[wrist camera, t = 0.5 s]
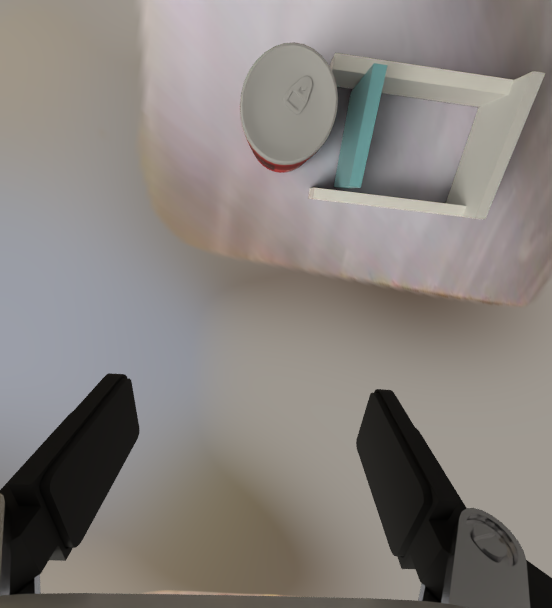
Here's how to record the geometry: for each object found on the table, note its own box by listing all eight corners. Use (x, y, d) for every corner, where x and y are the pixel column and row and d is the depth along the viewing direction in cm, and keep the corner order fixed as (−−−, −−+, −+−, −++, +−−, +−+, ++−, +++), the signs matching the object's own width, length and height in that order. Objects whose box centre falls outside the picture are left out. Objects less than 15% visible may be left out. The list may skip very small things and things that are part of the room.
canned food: (327, 112, 29) (357, 70, 19) (299, 184, 32) (311, 180, 22) (264, 79, 28) (260, 17, 18) (241, 157, 31) (226, 141, 21)
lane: (327, 71, 28) (340, 41, 22) (493, 95, 29) (545, 73, 23) (308, 198, 33) (315, 199, 27) (450, 215, 34) (484, 219, 28)
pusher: (350, 92, 28) (373, 63, 22) (361, 93, 28) (387, 65, 22) (333, 187, 32) (349, 186, 26) (343, 188, 32) (360, 187, 26)
